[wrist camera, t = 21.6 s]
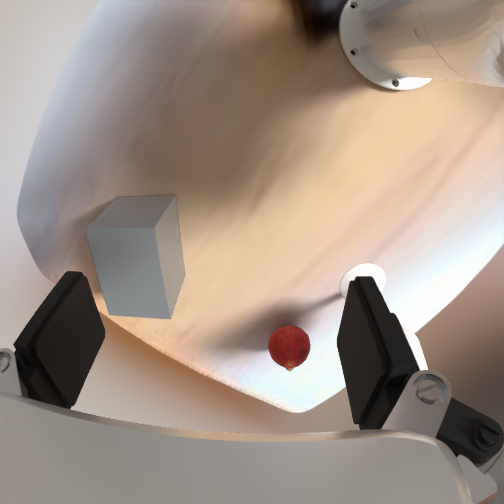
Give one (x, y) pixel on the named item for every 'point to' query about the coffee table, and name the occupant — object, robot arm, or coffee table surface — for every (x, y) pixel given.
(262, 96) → the coffee table surface
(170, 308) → the grey rectangular box
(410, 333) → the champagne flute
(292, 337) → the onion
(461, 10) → the robot arm
